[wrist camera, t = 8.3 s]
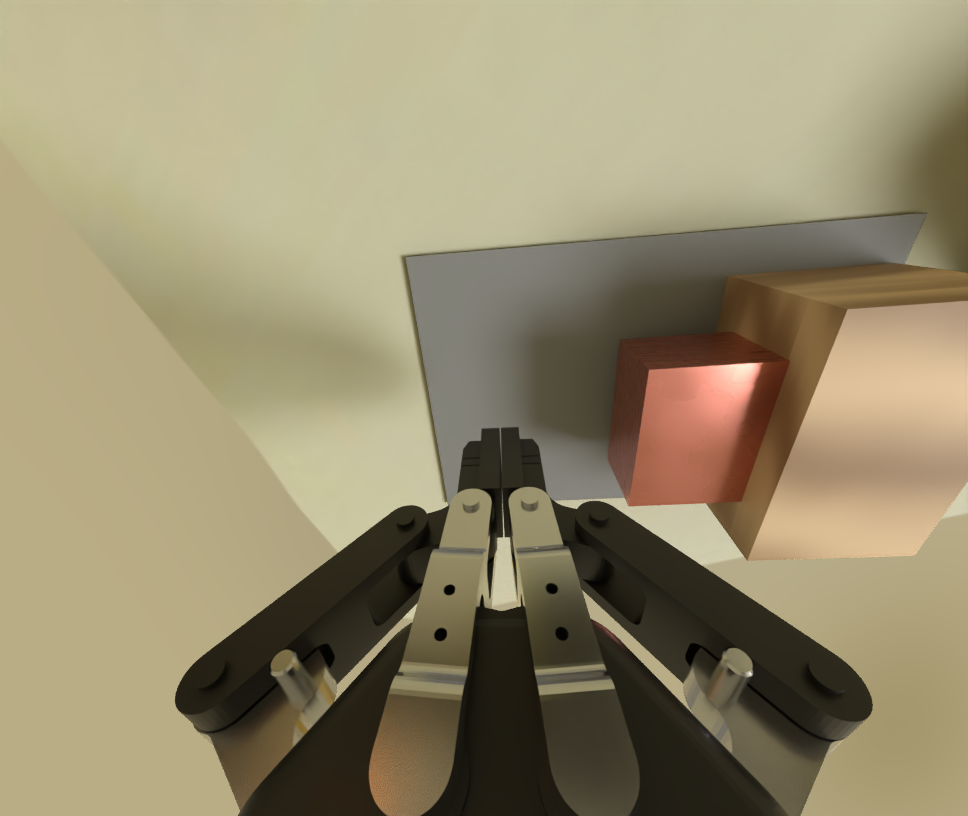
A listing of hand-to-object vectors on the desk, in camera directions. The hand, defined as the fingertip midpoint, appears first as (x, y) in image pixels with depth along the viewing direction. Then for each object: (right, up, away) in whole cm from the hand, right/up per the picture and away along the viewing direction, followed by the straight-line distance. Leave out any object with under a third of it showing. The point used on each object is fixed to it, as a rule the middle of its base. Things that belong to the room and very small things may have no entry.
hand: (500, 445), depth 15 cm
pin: (+13, +3, +4) cm, 14 cm away
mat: (+7, +2, +5) cm, 9 cm away
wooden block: (+14, +3, +4) cm, 15 cm away
